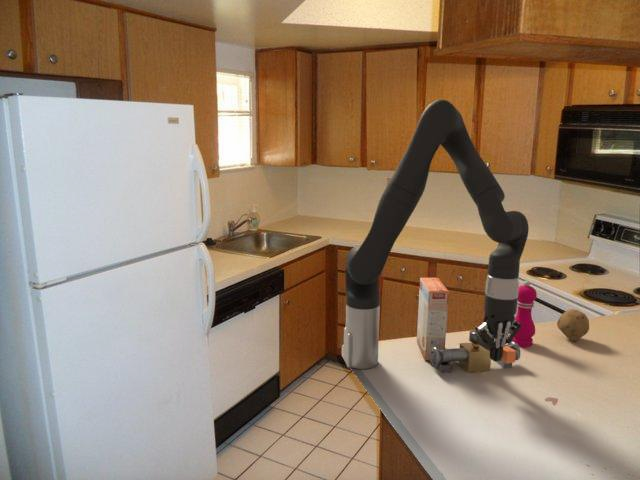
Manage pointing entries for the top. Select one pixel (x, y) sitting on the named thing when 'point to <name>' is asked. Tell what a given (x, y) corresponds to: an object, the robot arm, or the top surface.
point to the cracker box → (432, 315)
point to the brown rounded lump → (573, 324)
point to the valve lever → (474, 337)
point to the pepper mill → (525, 315)
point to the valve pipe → (468, 357)
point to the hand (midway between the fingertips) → (495, 360)
